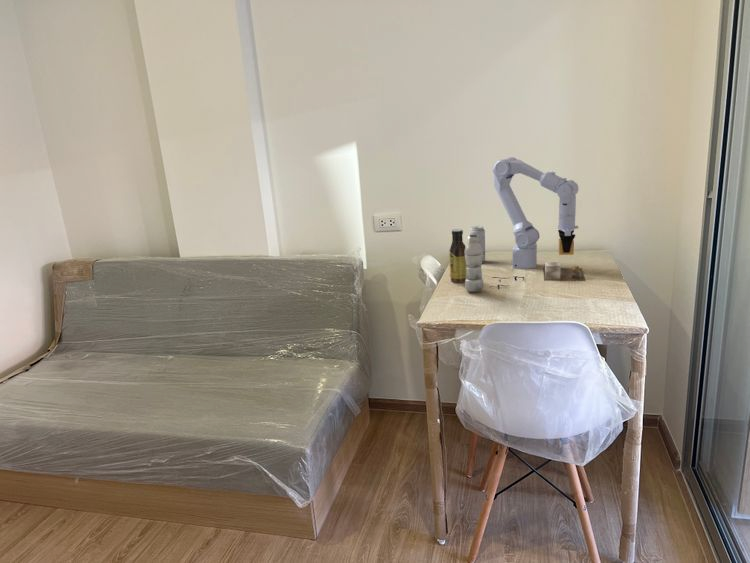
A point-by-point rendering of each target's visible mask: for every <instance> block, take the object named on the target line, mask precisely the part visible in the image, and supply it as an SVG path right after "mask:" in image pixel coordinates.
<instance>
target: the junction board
mask: <svg viewBox="0 0 750 563" xmlns="http://www.w3.org/2000/svg"><path fill="white" fill-rule="evenodd" d="M542 271H543V280H544V281H550V282H551V281H552V282H554V281H555V282H556V281H557V282H565V281H566V282H586V278H585V274H584V272H583V268H581V267H580V266H579V265H573V266H572V267H561V263H560V262H559V261H557V262H556V261H555V262H554V261H552V262H551V261H549V262H547V261H546V262H545V266H544V267H543V268H542Z"/></svg>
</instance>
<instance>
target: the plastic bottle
mask: <svg viewBox="0 0 750 563" xmlns="http://www.w3.org/2000/svg"><path fill="white" fill-rule="evenodd" d="M478 241H479V239H478V235H470V234H469V235H467V242H468V243H467V245H465V247H466V248H465V251H464V253H465V259H466V280H465V281H464V286H465V289H466V291H467V292H470V293H477V292H481V291H482V290H483V288H484V280H483V272H482V265H483V264H482V254H483V250H482V247H481V246H480V244H479V243H478Z"/></svg>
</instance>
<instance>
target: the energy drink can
mask: <svg viewBox="0 0 750 563" xmlns="http://www.w3.org/2000/svg"><path fill="white" fill-rule="evenodd" d="M469 233H470V234H469V236H470V235H478V239H479V241H478V243H479V244H480V246H481V247H482V250H483V254H482V263H484V262H485V261H486V230H485V228H484V226H483V225H473V226H471V229H470V231H469Z"/></svg>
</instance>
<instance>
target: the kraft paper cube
mask: <svg viewBox="0 0 750 563" xmlns="http://www.w3.org/2000/svg"><path fill="white" fill-rule="evenodd" d="M574 248H575V240H574V239H573V241H572V245H571V249H570V252H569V253H564V252H563V248H562V241H561V238H558V255H559V256H560V255H561V256H562V255H566V256H568V255H569V256H572V255H574V253H575V252H574Z"/></svg>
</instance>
